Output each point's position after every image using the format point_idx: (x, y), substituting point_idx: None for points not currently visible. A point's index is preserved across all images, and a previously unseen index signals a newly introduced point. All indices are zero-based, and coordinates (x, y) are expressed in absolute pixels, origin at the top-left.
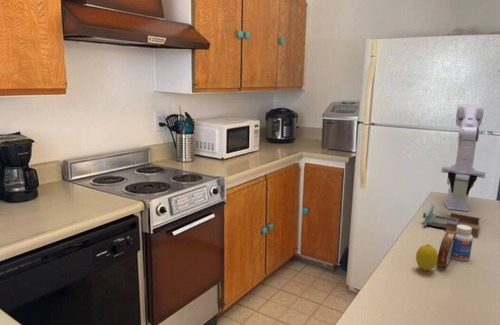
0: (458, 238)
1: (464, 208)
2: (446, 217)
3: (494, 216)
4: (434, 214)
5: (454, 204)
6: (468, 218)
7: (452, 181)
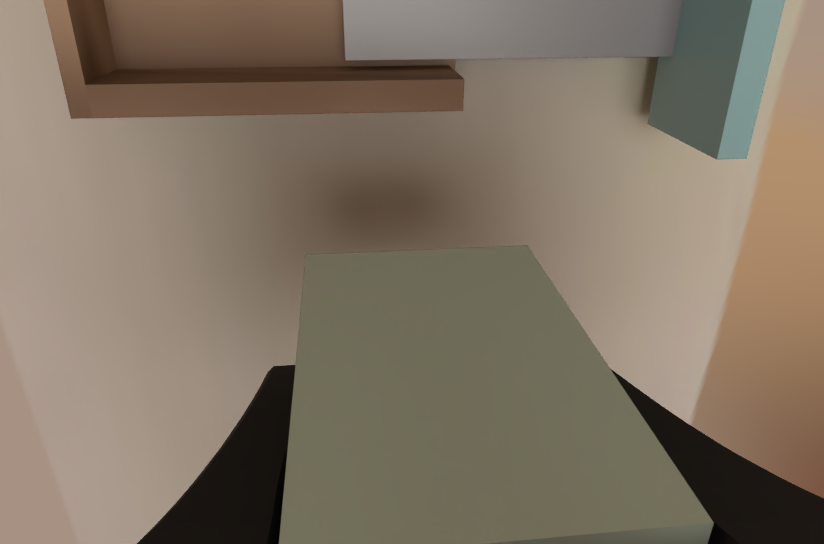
0: None
1: None
2: None
3: (73, 501)
4: (644, 46)
5: None
6: (228, 79)
7: (745, 505)
